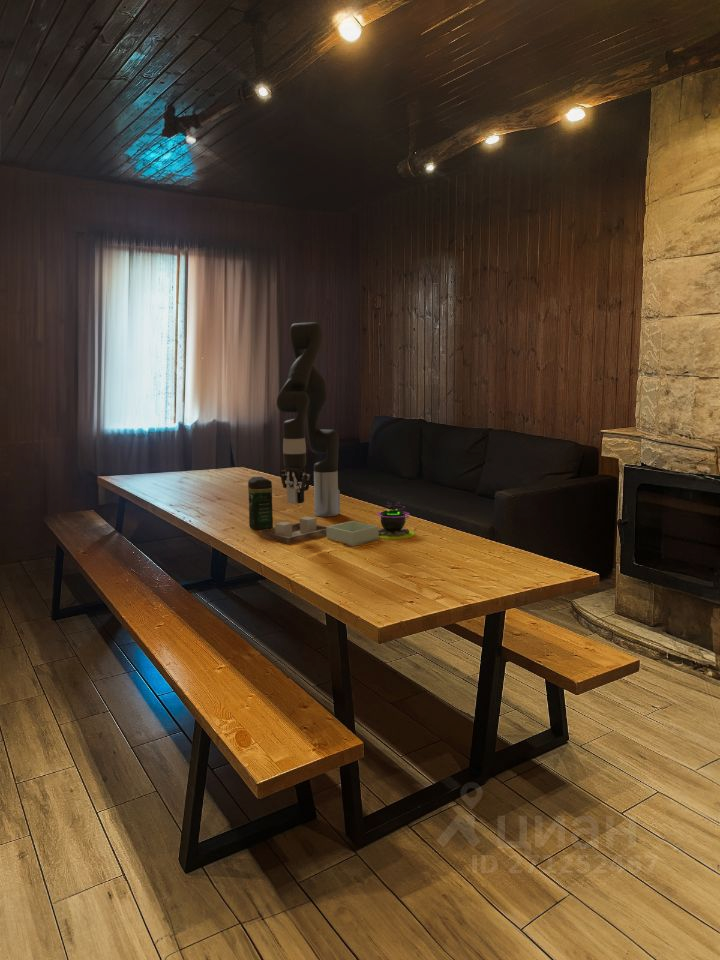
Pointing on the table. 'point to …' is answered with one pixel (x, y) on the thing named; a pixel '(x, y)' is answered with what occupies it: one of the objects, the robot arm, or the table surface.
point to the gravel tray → (294, 534)
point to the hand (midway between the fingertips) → (295, 501)
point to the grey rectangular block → (307, 524)
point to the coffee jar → (260, 503)
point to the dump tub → (353, 533)
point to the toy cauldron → (394, 525)
